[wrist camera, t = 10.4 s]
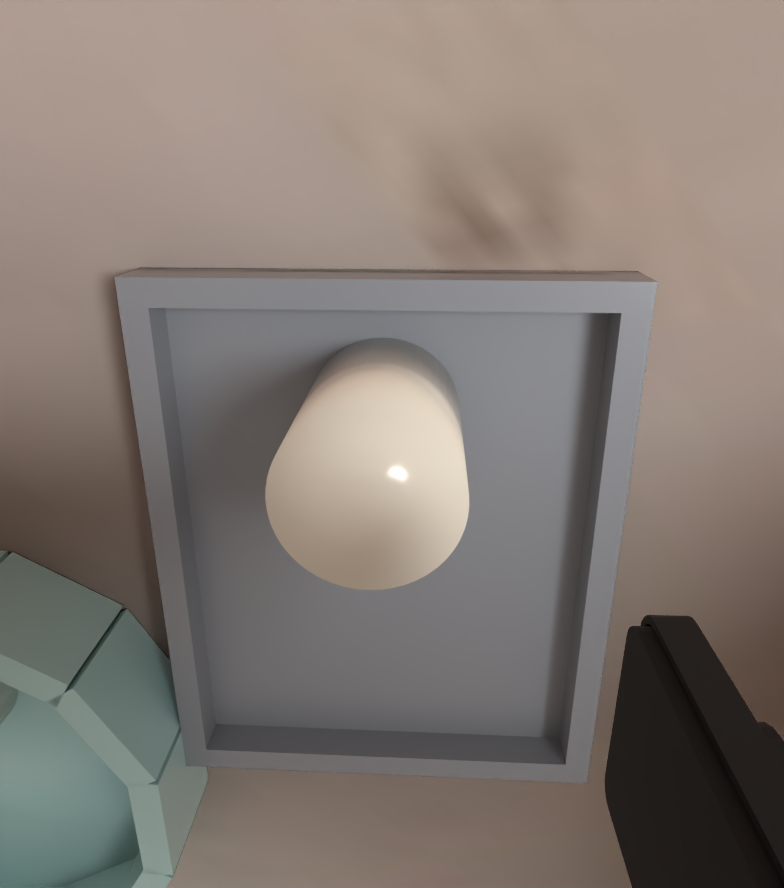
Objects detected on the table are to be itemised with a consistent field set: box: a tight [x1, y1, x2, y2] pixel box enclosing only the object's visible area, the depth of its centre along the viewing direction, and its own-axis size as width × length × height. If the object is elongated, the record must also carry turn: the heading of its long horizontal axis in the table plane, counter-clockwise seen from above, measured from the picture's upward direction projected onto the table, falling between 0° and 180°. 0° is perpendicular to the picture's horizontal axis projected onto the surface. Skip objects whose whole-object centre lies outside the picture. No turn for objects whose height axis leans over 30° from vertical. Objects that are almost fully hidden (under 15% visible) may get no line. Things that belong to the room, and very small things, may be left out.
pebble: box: [265, 338, 469, 590], centre depth 18 cm, size 4×4×6 cm
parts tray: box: [114, 268, 658, 783], centre depth 22 cm, size 14×17×2 cm
